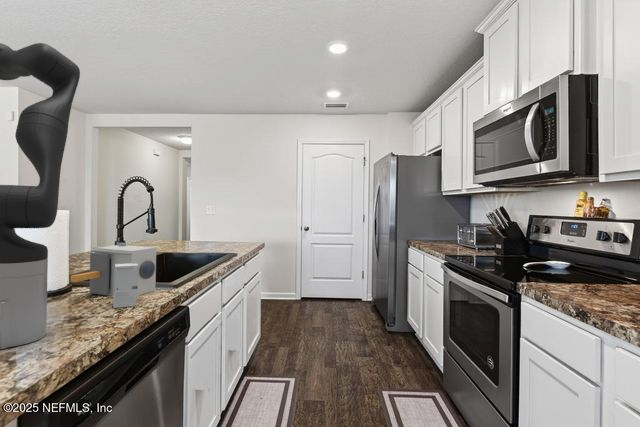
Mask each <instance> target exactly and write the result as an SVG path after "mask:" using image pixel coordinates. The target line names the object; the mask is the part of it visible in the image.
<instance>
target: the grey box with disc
mask: <svg viewBox="0 0 640 427" xmlns="http://www.w3.org/2000/svg"><path fill="white" fill-rule="evenodd" d="M91 253H101V254H110V261H109V295H107V296H110V297H113V296H114V274H115V264H131V263H137V264H138V265H139V268H138V289H137V297H138V296H142V295H146V294H149V293H152V292H155V291H156V278H157V277H156V272H157V247H152V246H142V245H140V246H139V245H129V244H127V243H126V242H118V244H117V245H105V246H97V247H94V248H93V249H92V250H91Z"/></svg>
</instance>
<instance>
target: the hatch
mask: <svg viewBox="0 0 640 427" xmlns="http://www.w3.org/2000/svg"><path fill="white" fill-rule="evenodd" d="M89 255H90V258H89V260H90V261H89V272H83V273H77V274H73V275H70V276H69V277H70V281H69V282H70V283H78V282H82V281H88V280H89V294H94V295H101V296H108V295H109V261H110V254H101V253H94V252H90V254H89Z"/></svg>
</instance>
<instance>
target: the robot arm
mask: <svg viewBox="0 0 640 427" xmlns="http://www.w3.org/2000/svg"><path fill="white" fill-rule="evenodd" d="M30 76H31V77H33V78H35V79H37V80H38V81H39V82H42V83H43V84H45V85H46V86H47V87H50V88H51V90H52V95H51V96H49V97H48V98H46V99H43V100H39V101H37V102H35V103H33V104H30V105H28V106H27V107H26V108H24V109H23V110H22V111H21V113H20V115H19V116H18V117H19V118H18V122H17V126H16V131H15V133H14V134H15V140H16V143H17V145H18V148H20V150H21V151H22V152H23V154H24V156H26V158H27V159H28V160H29V161H30V163H31V164H32V165H33V167H34V169H35V171H36V172H37V174H38V177H39V182H38V185H17V184H0V350H5V349H7V348H11V347H17V346H18V347H19V346H22V345H23V346H24V345H26V344H30V343H33V342H36V341H38V340H41V339H42V338H44V337H46V336H47V326H48V325H47V324H48V323H47V319H48V267H49V266H48V265H49V258H48V257H49V250H48V246H46V245H45V244H42V243H38V242H34V241H30V240H28V239H26V238H23V237H21V236H20V235H18V234H17V233H16V230H15V229H45V228H46V229H47V228H50V227H51V226H53V224H54V223H55V221H56V217H57V215H58V209H59V208H58V205H59V196H60V195H59V193H60V192H59V191H60V182H61V181H60V180H61V172H62V170H61V168H62V162H63V159H64V158H63V157H64V152H65V150H66V149H65V147H66V143H67V139H68V132H69V122H70V115H71V111H72V106H73V101H74V98H75V96H76V93H77V89H78V86H79V82H80V78H81V77H80V76H81V70H80V68H79V66H78V65H77V64H76V63H75V62H74V61H72V60H71V59H70V58H69V57H67V56H66V55H64V54H63V53H62V52H60V51H58V50H57V49H56V48H54V47H53V46H51V45H49V44H48V43H42V42H35V43H33V44H29V45H27V46H24V47H22V48H20V49H15V50H13V49H12V48H11V47H10V46H9V45H6V44H4V43H0V81H13V80H16V79H18V78H20V77H22V78H25V77H26V78H27V77H30Z"/></svg>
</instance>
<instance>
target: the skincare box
mask: <svg viewBox="0 0 640 427" xmlns="http://www.w3.org/2000/svg"><path fill="white" fill-rule="evenodd" d="M138 268H139V265H138V264H137V263H131V264H115V274H114V296H112V297H113V300H112V308H113V309H116V308H129V307H136V306H137V304H138V296H137V289H138Z"/></svg>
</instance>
